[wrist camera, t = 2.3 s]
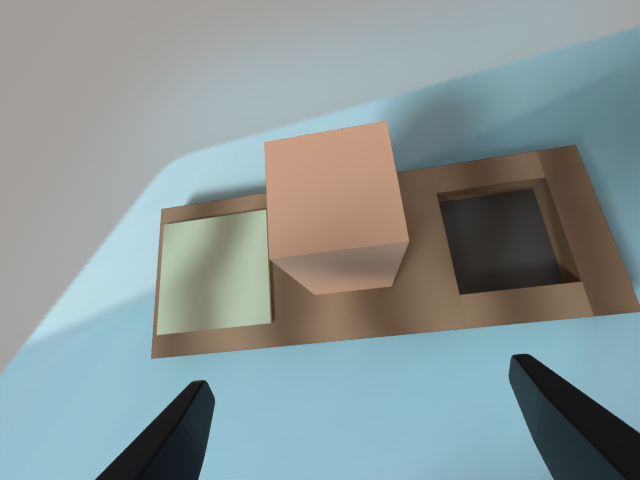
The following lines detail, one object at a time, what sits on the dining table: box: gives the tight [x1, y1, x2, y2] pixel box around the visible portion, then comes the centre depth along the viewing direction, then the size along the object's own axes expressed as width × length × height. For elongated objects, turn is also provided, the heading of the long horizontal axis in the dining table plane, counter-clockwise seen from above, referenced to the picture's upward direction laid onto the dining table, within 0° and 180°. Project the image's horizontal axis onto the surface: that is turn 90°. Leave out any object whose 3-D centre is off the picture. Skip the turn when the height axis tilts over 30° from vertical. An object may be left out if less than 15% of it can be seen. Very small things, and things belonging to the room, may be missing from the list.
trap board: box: [151, 145, 640, 359], centre depth 22 cm, size 30×11×2 cm, turn 95°
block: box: [264, 121, 409, 295], centre depth 17 cm, size 5×5×10 cm
